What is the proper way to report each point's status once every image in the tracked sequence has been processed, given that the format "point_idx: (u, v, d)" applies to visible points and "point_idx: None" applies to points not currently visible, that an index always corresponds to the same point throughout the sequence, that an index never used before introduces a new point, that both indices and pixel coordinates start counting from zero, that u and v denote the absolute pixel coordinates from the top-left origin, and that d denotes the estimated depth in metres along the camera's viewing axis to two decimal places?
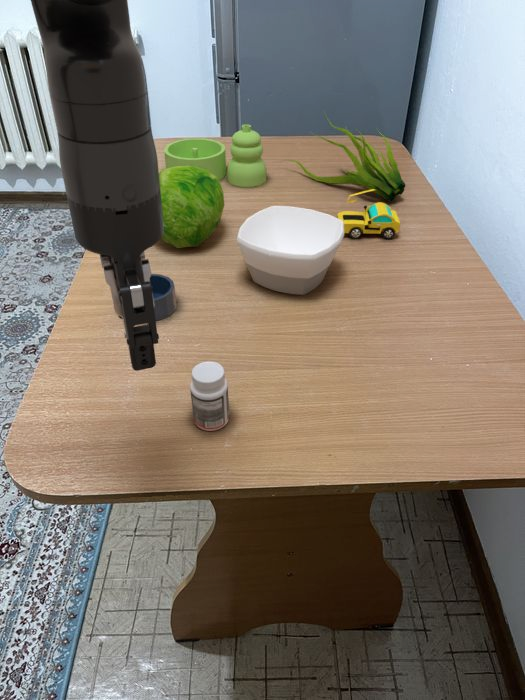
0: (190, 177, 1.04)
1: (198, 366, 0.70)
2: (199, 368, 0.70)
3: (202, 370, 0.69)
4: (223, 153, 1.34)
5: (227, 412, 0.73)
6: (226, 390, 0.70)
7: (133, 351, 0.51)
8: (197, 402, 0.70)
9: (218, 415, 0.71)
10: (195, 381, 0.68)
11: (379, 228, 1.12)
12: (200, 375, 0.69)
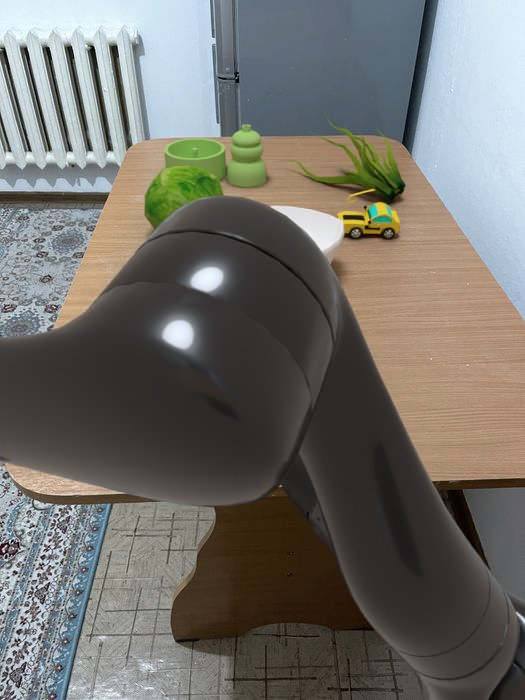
0: (190, 177, 1.04)
1: None
2: None
3: None
4: (223, 153, 1.34)
5: None
6: None
7: None
8: None
9: None
10: None
11: (379, 228, 1.12)
12: None
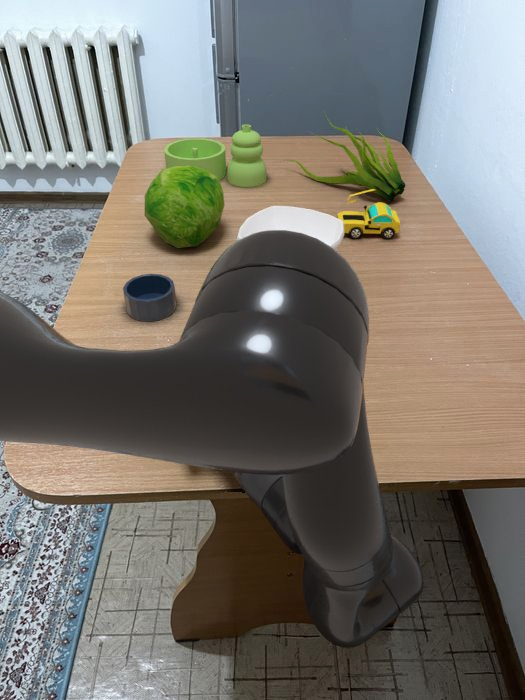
0: (190, 177, 1.04)
1: None
2: None
3: None
4: (223, 153, 1.34)
5: None
6: None
7: None
8: None
9: None
10: None
11: (379, 228, 1.12)
12: None
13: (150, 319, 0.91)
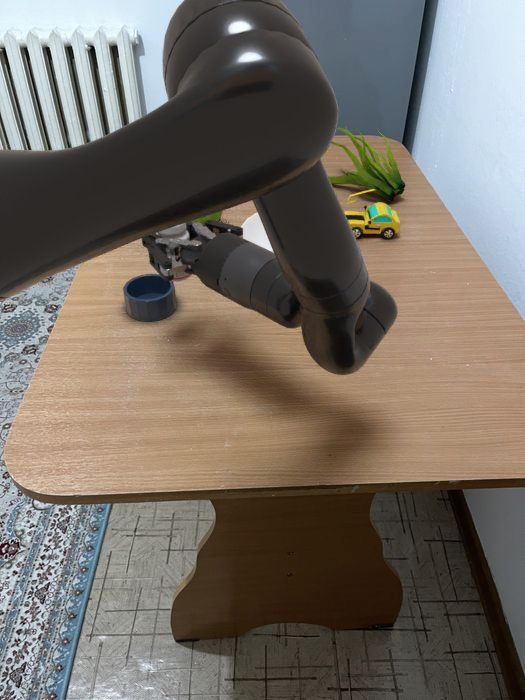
0: None
1: None
2: None
3: None
4: None
5: None
6: (189, 237, 0.78)
7: (151, 237, 0.76)
8: None
9: None
10: None
11: (379, 228, 1.12)
12: None
13: (150, 319, 0.91)
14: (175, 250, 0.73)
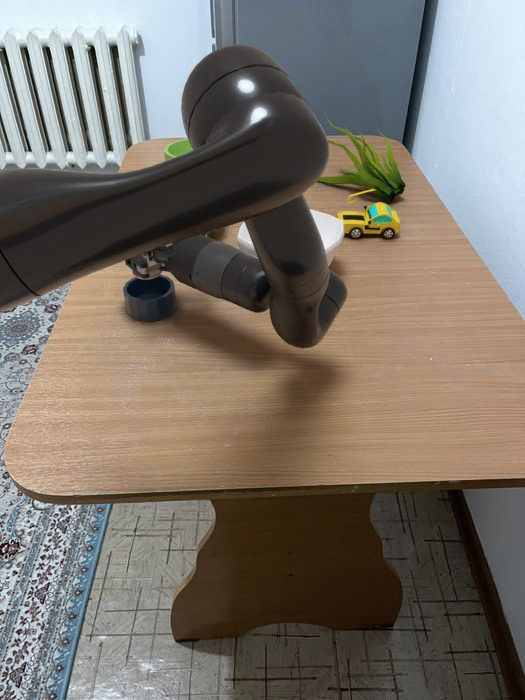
0: None
1: None
2: None
3: None
4: None
5: None
6: None
7: None
8: None
9: None
10: None
11: (379, 228, 1.12)
12: None
13: (150, 319, 0.91)
14: (148, 251, 0.82)
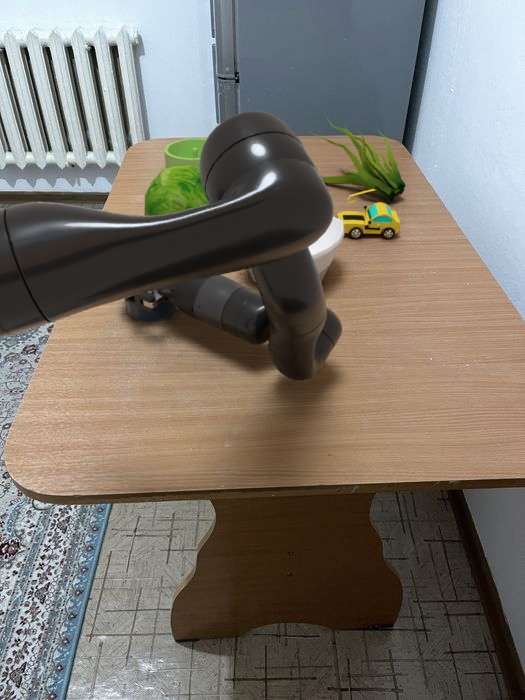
0: (190, 177, 1.04)
1: None
2: None
3: None
4: None
5: None
6: None
7: None
8: None
9: None
10: None
11: (379, 228, 1.12)
12: None
13: (150, 319, 0.91)
14: None
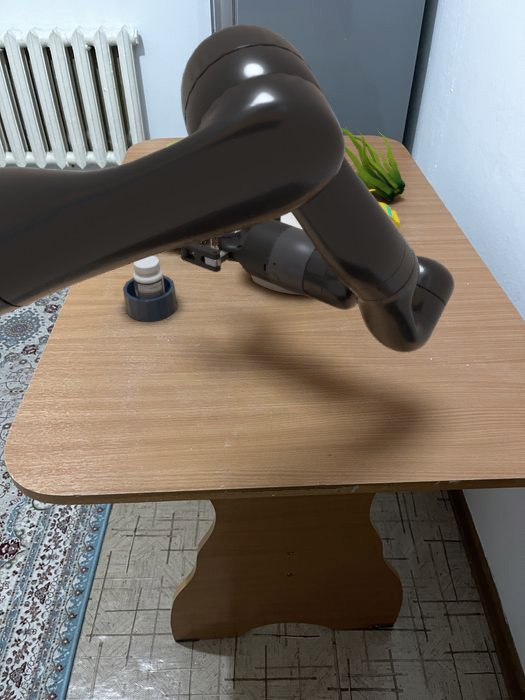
0: None
1: None
2: None
3: (141, 261, 0.89)
4: None
5: None
6: (162, 274, 0.91)
7: None
8: (143, 287, 0.89)
9: None
10: (139, 269, 0.88)
11: None
12: (141, 264, 0.88)
13: (150, 319, 0.91)
14: (210, 241, 0.72)
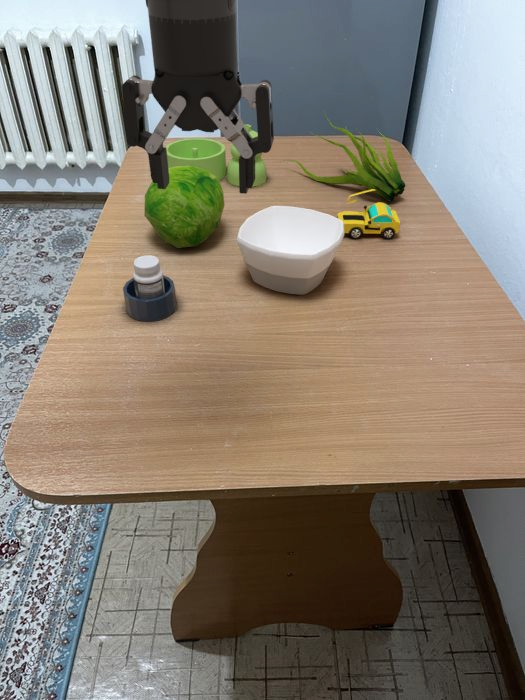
0: (190, 177, 1.04)
1: (137, 259, 0.89)
2: (138, 260, 0.89)
3: (141, 261, 0.89)
4: (223, 153, 1.34)
5: None
6: (162, 274, 0.91)
7: None
8: (143, 287, 0.89)
9: None
10: (139, 269, 0.88)
11: (379, 228, 1.12)
12: (141, 264, 0.88)
13: (150, 319, 0.91)
14: None
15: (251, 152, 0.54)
